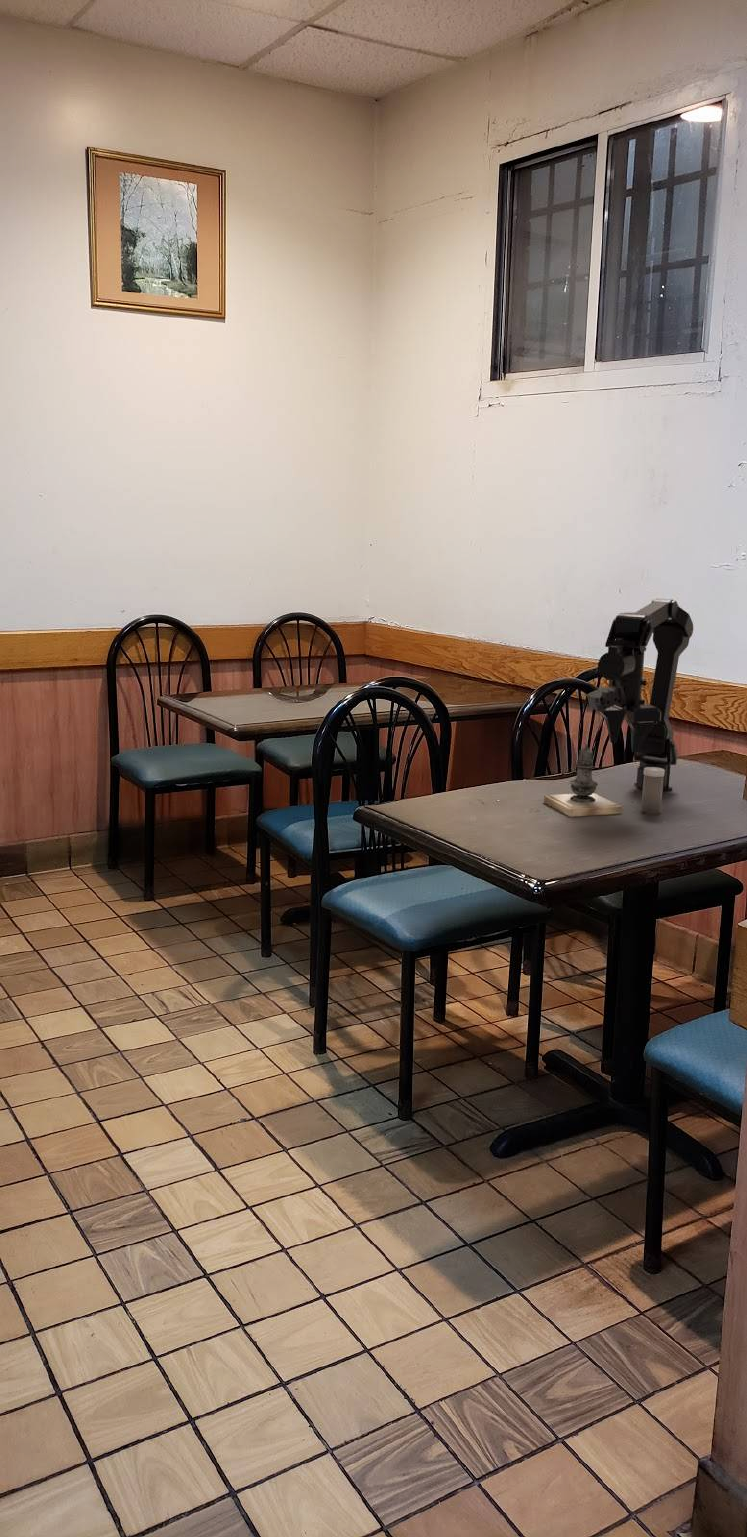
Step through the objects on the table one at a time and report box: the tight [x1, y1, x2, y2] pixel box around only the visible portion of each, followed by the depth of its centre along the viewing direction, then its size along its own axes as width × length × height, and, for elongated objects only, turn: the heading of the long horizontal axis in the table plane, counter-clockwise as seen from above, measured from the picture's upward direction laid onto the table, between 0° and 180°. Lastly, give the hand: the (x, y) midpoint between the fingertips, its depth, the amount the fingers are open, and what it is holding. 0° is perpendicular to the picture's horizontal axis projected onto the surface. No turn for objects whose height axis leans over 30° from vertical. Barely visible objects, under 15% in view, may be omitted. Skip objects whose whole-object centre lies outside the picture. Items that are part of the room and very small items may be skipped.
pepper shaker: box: [640, 767, 665, 815], centre depth 248 cm, size 4×4×9 cm
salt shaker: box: [569, 743, 599, 803], centre depth 249 cm, size 6×6×12 cm
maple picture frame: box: [543, 792, 623, 817], centre depth 251 cm, size 12×12×2 cm
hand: (623, 747), depth 251 cm, fingers open, 9 cm apart
